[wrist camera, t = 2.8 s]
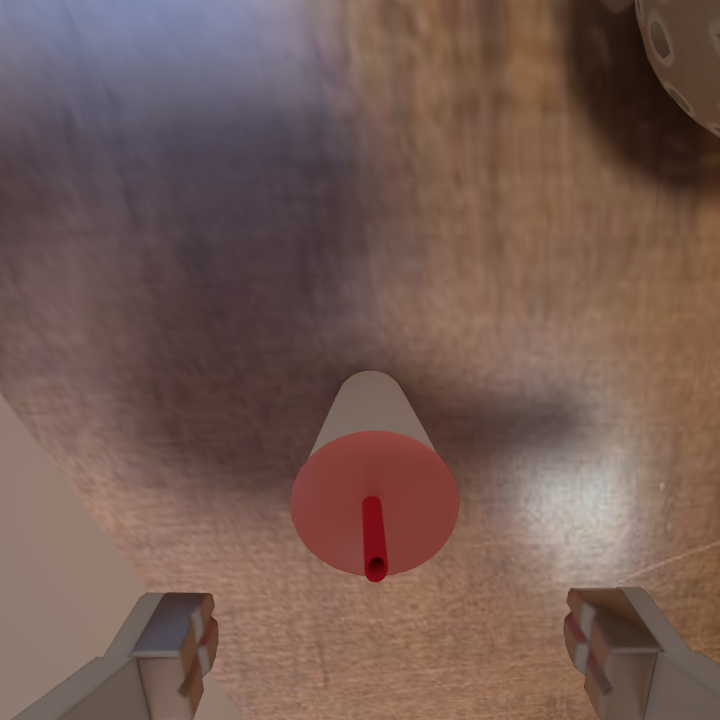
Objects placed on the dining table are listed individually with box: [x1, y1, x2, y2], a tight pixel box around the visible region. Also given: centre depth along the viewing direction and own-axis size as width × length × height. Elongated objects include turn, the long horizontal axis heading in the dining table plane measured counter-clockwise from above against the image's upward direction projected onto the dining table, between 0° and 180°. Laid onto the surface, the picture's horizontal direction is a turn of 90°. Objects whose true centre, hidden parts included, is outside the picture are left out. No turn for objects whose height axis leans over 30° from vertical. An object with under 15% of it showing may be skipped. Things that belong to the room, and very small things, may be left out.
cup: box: [290, 370, 459, 582], centre depth 17 cm, size 5×5×12 cm
